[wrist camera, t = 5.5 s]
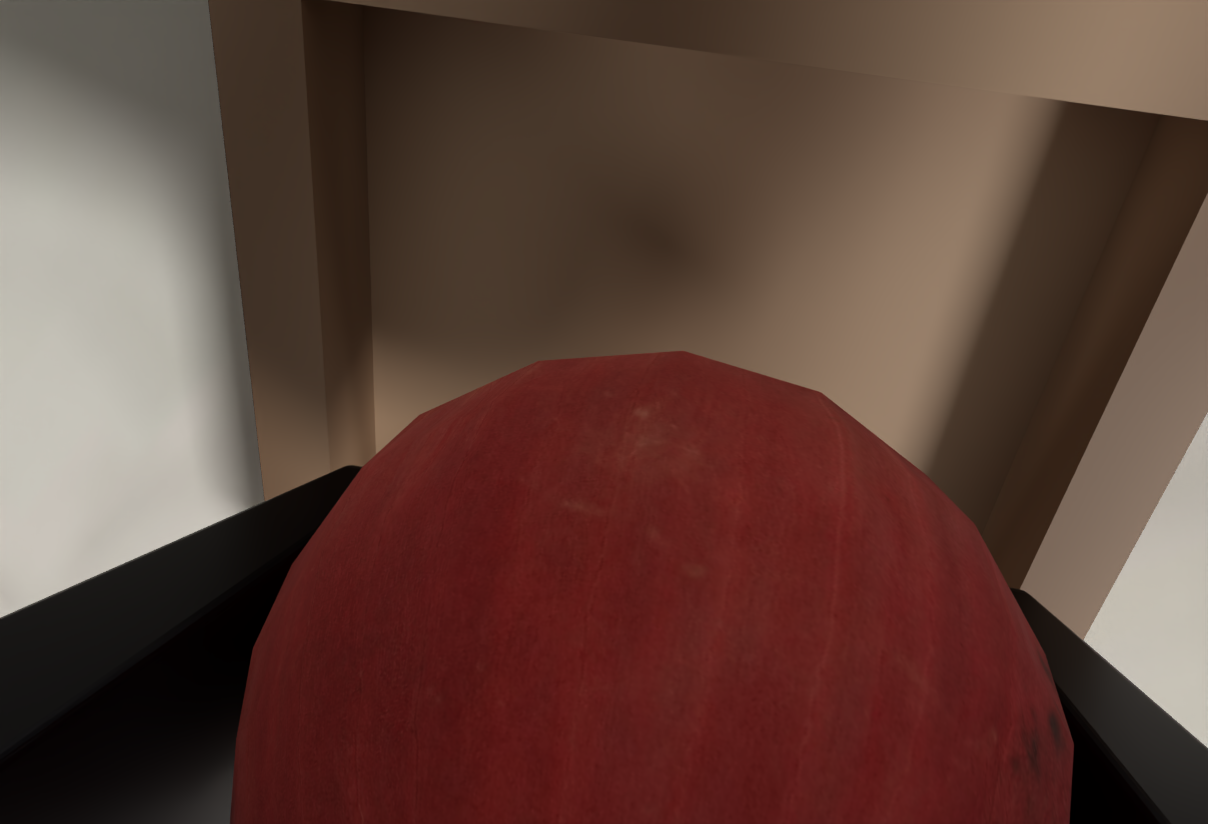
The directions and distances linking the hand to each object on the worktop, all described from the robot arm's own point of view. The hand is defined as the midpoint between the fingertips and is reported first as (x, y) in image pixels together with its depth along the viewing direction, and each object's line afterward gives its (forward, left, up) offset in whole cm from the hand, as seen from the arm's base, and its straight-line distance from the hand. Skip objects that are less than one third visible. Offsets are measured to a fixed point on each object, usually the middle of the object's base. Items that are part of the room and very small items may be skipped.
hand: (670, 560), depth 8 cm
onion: (0, 0, -2) cm, 2 cm away
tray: (0, 0, -5) cm, 5 cm away
